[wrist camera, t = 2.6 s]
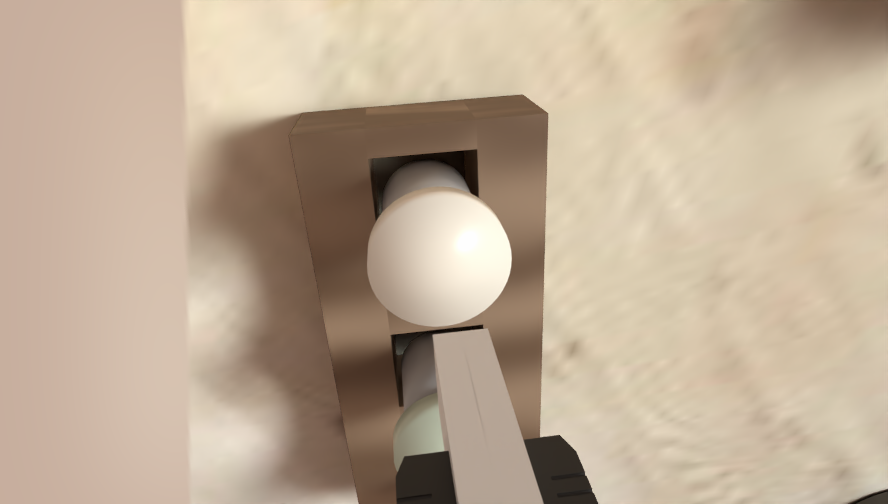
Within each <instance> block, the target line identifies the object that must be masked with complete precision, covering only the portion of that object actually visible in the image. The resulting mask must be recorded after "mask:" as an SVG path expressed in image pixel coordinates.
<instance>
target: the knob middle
mask: <svg viewBox="0 0 888 504" xmlns="http://www.w3.org/2000/svg"><path fill="white" fill-rule="evenodd" d="M451 332H452V331H447V330H436V331H431V332H427V333H425V334H422V335H420V336H418V337H417V338H415V339H414V340H413V341H412V342H411V343H410V344H409V345H408V346H407V347H406V349H405V351H404V353H403V356H402V361H401V367H402V384H403V401H404V413H403V414H402V415H401V416H400V418H399V419H398V421H397V423H396V426H395V429H394V434H393V449H394V464H395V468H396V470H397V472H398V470H399V467H400V465H401V463H402V460H403V458H404V456H411V455H419V454H426V453H434V452H442V451H444V443H443V436H442V429H441V422H440V415H439V406H438V394H437V382H436V370H435V358H434V346H433V334H442V333H451Z"/></svg>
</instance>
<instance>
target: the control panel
mask: <svg viewBox="0 0 888 504" xmlns="http://www.w3.org/2000/svg"><path fill="white" fill-rule="evenodd" d="M289 139H290V145H291V150H292V155H293V160H294V166H295V171H296V176H297V181H298V187H299V192H300V197H301V202H302V208H303V213H304V218H305V224H306V229H307V234H308V239H309V245H310V250H311V255H312V260H313V266H314V271H315V276H316V281H317V287H318V292H319V297H320V302H321V308H322V313H323V318H324V324H325V329H326V334H327V339H328V345H329V350H330V355H331V360H332V366H333V371H334V376H335V381H336V387H337V392H338V397H339V402H340V408H341V413H342V418H343V424H344V429H345V434H346V439H347V445H348V450H349V455H350V460H351V466H352V471H353V476H354V481H355V487H356V492H357V497H358V502H359V504H396V503H397V500H396V474H397V470H396V468H395V464H394V449H393V434H394V429H395V426H396V423H397V421H398V419H399V418H400V416H401V415H402V414H403V413H404V401H403V384H402V367H401V361H402V356H403V355H399V356H397V353H396V345H395V337H394V334H402V333H411V332H420V331H429V330H438V329H447V328H456V327H465V326H472V330H478V329H487V328H488V331H489V334H490V337H491V340H492V344H493V347H494V350H495V353H496V356H497V359H498V362H499V365H500V369H501V372H502V375H503V378H504V381H505V384H506V387H507V391H508V394H509V397H510V400H511V403H512V406H513V409H514V412H515V416H516V419H517V422H518V425H519V428H520V431H521V434H522V438H523V440H525V439H533V438H540V409H541V370H542V332H543V293H544V255H545V217H546V178H547V140H548V113H547V112H546V111H544V110H543V109H542V108H540V107H539V106H537V105H536V104H535V103H533V102H532V101H531V100H529V99H528V98H527V97H525V96H524V95H513V96H501V97H488V98H476V99H464V100H452V101H440V102H427V103H415V104H403V105H391V106H379V107H367V108H354V109H342V110H330V111H318V112H306V113H302V115H301V117H300V118H299V120H298V121H297V123H296V125H295V126H294V128H293V129H292V131H291V133H290V134H289ZM461 150H464V161H465V182H466V184H467V186H468V188H469V191H470V193H471V194H473V195H475V196H476V197H478V198H479V199H481V200H482V201H484V202H485V203H486V204H487V205H488V206H489V207H490V208H491V209H492V211H493V212H494V213H495V214H496V216H497V218H498V220H499V221H500V223H501V225H502V227H503V229H504V231H505V233H506V235H507V238H508V240H509V243H510V248H511V256H512V261H511V270H510V275H509V277H508V280H507V283H506V285H505V287H504V289H503V291H502V292H501V294H500V295H499V296H498V298H497V299H496V300H495V301H494V302H493V303H492V304H491V305H490V306H489V307H488V308H487V309H486V310H484V311H483V312H481V313H480V314H479V315H477V316H475V317H473V318H471V319H469V320H467V321H464V322H461V323H458V324H454V325H449V326H440V327H431V326H422V325H417V324H414V323H410V322H408V321H405V320H403V319H401V318H399V317H397V316H396V315H394V314H393V313H391V312H390V311H389V310H388V309H386V308H385V307H384V306H383V305H382V304H381V302H380V301H379V300H378V298H377V297H376V295H375V293H374V292H373V290H372V287H371V285H370V282H369V278H368V273H367V254H368V242H369V238H370V234H371V231H372V229H373V226H374V224H375V223H376V221H377V219H378V218H379V216H380V214H379V206H378V198H377V190H376V181H375V173H374V165H373V158H382V157H394V156H405V155H416V154H427V153H439V152H450V151H461Z"/></svg>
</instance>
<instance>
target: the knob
mask: <svg viewBox="0 0 888 504" xmlns="http://www.w3.org/2000/svg"><path fill="white" fill-rule="evenodd" d="M511 261H512V256H511V248H510V243H509V240H508V238H507V235H506V233H505V231H504V229H503V227H502V225H501V223H500V221H499V220H498V218H497V216H496V214H495V213H494V212H493V211H492V209H491V208H490V207H489V206H488V205H487V204H486V203H485V202H484V201H482V200H481V199H479V198H478V197H476V196H475V195H473V194H471V193H470V191H469V188H468V186H467V184H466V182H465V180H464V178H463V177H462V175H461V174H460V173H459V172H458V171H457V170H456V169H455V168H453V167H452V166H450V165H449V164H447V163H445V162H442V161H439V160H434V159H420V160H415V161H412V162H409V163H407V164H405V165H403V166H402V167H400V168H399V169H398V170H396V171H395V172H394V173H393V174H392V176H391V177H390V178H389V180H388V182H387V183H386V186H385V188H384V191H383V197H382V214H381V215H380V216H379V218H378V219H377V221H376V223H375V224H374V226H373V229H372V231H371V234H370V238H369V242H368V254H367V273H368V278H369V282H370V285H371V287H372V290H373V292H374V293H375V295H376V297H377V298H378V300H379V301H380V302H381V304H382V305H383V306H384V307H385V308H386V309H388V310H389V311H390V312H391V313H393V314H394V315H396V316H397V317H399V318H401V319H403V320H405V321H408V322H410V323H414V324H417V325H422V326H431V327H440V326H449V325H454V324H458V323H461V322H464V321H467V320H469V319H471V318H473V317H475V316H477V315H479V314H480V313H481V312H483V311H484V310H486V309H487V308H488V307H489V306H490V305H491V304H492V303H493V302H494V301H495V300H496V299H497V298H498V296H499V295H500V294H501V292H502V291H503V289H504V287H505V285H506V283H507V280H508V277H509V275H510V270H511Z"/></svg>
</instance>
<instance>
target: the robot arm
mask: <svg viewBox="0 0 888 504" xmlns="http://www.w3.org/2000/svg"><path fill="white" fill-rule="evenodd" d="M433 346H434V358H435V370H436V382H437V394H438V406H439V415H440V422H441V429H442V436H443V443H444V451H442V452H434V453H426V454H419V455H411V456H404V458H403V460H402V463H401V465H400V467H399V470H398V472H397V474H396V500H397V503H396V504H598V502H597V500H596V497H595V495H594V493H593V492H592V488H591V485H590V483H589V481H588V478H587V476H585V471H584V469H583V467H582V464H581V462H580V460H579V457H578V455H577V453H576V451H575V450H574V449H573V448H572V447H571V446H570V445H569V444H568V443H567V442H566V441H565V440H564V439H563V438H562V437H561V436H560V435H556V436H548V437H540V438H533V439H525V440H523V438H522V434H521V431H520V428H519V425H518V422H517V419H516V416H515V412H514V409H513V406H512V403H511V400H510V397H509V394H508V391H507V387H506V384H505V381H504V378H503V375H502V372H501V369H500V365H499V362H498V359H497V356H496V353H495V350H494V347H493V344H492V340H491V337H490V334H489V331H488V328H487V329H478V330H469V331H460V332H451V333H442V334H433ZM856 504H888V492H884V493H881V494H878V495H875V496H872V497H870V498H867V499H865V500H863V501H860V502H858V503H856Z"/></svg>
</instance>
